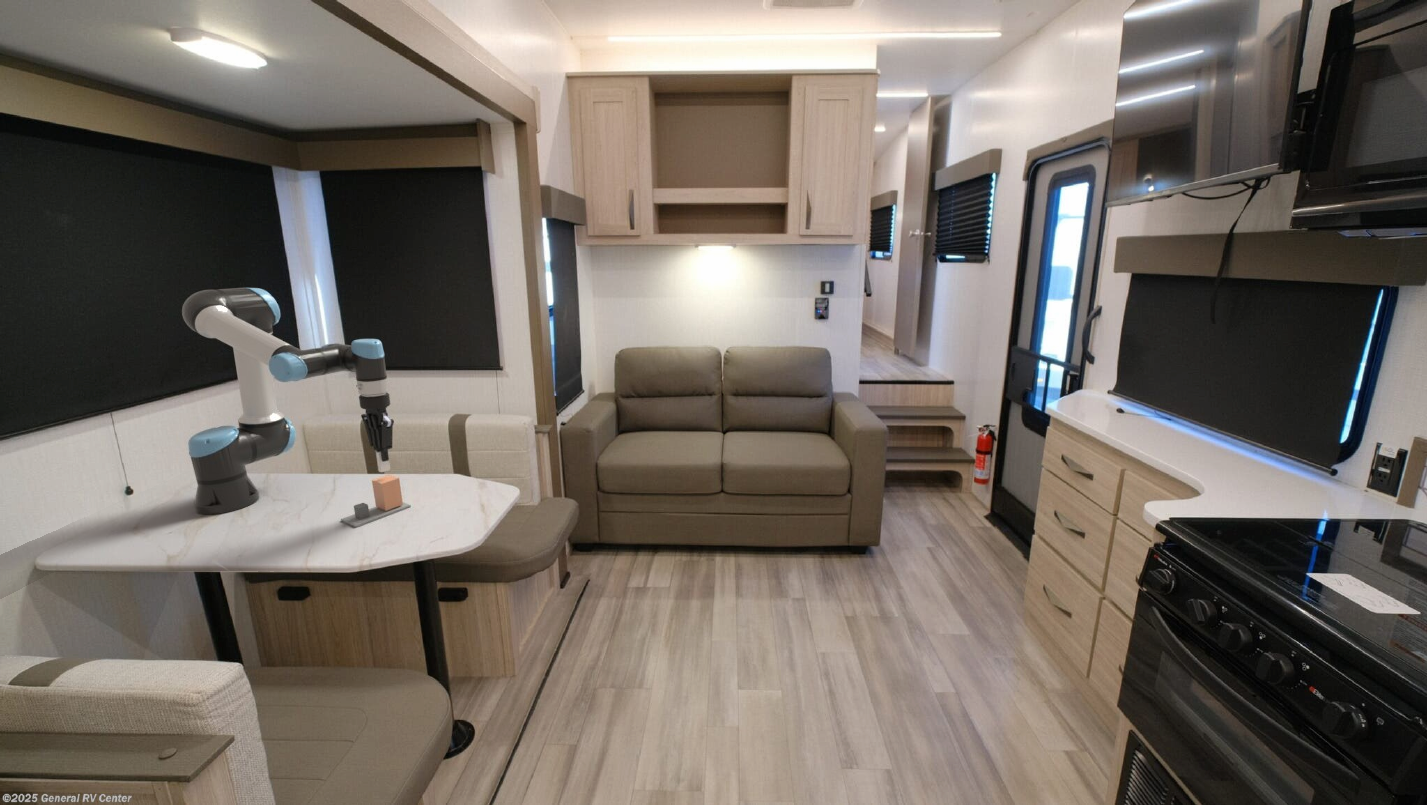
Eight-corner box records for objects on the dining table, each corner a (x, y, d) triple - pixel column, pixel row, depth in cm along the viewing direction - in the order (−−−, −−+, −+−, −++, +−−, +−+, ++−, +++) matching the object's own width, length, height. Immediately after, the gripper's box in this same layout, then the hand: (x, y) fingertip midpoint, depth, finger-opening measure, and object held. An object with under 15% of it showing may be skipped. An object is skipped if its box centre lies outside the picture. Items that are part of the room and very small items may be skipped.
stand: (341, 520, 164) (336, 491, 161) (395, 501, 177) (391, 474, 174) (356, 527, 159) (351, 498, 157) (410, 506, 173) (406, 479, 170)
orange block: (376, 506, 170) (371, 480, 168) (393, 500, 175) (389, 474, 172) (385, 510, 168) (381, 483, 166) (402, 504, 172) (399, 478, 170)
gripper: (348, 392, 163) (359, 469, 169) (373, 399, 156) (384, 479, 162) (374, 387, 169) (384, 462, 175) (399, 394, 162) (409, 471, 169)
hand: (384, 470), depth 169 cm, fingers closed
